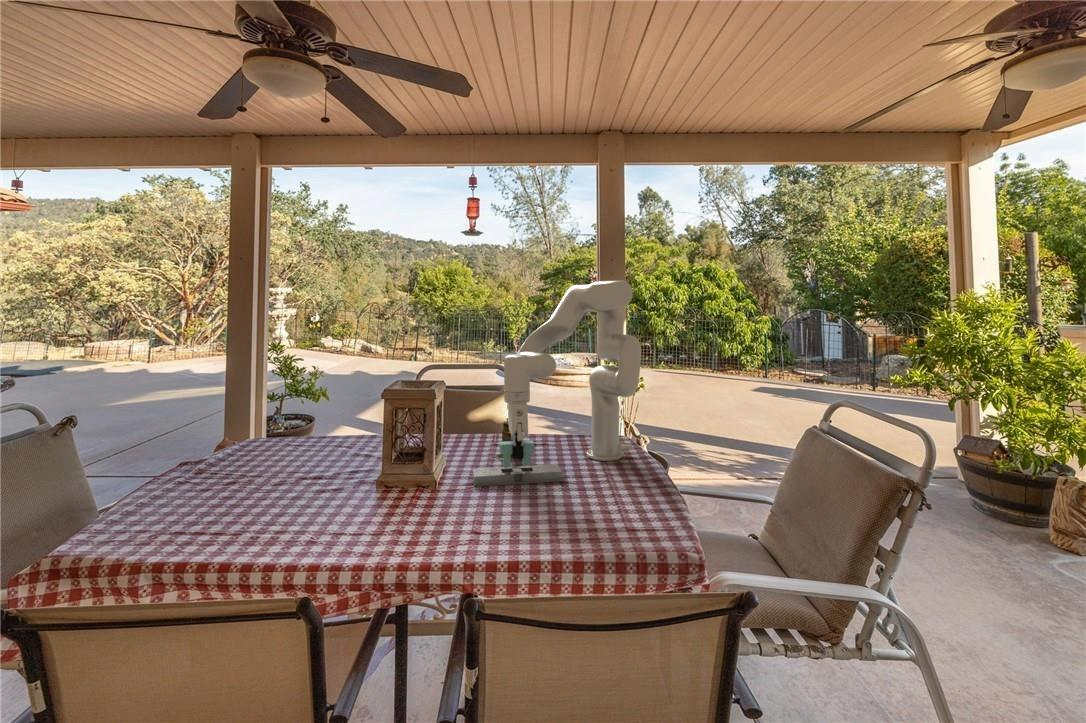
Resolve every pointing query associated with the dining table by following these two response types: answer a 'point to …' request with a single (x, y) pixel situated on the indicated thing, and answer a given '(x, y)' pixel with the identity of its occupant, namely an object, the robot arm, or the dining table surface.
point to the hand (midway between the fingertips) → (517, 456)
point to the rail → (516, 475)
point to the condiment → (505, 438)
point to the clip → (507, 450)
